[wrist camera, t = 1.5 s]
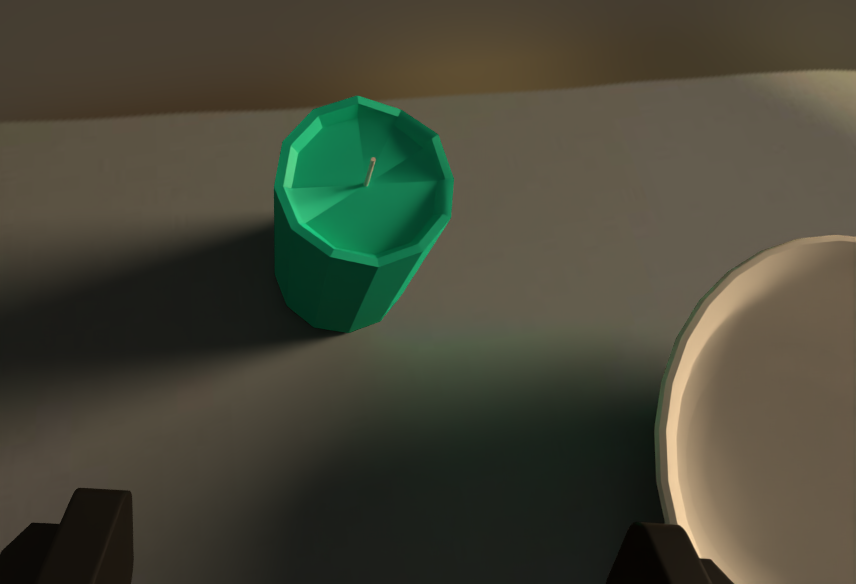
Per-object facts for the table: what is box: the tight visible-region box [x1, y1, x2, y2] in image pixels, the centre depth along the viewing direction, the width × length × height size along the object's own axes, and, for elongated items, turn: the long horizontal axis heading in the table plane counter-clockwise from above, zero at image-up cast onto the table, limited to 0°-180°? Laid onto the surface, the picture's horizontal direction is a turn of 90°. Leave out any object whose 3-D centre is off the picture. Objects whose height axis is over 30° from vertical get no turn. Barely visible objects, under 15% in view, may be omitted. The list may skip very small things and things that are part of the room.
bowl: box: [654, 235, 856, 584], centre depth 33 cm, size 20×20×6 cm
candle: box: [274, 96, 454, 333], centre depth 29 cm, size 6×6×12 cm
